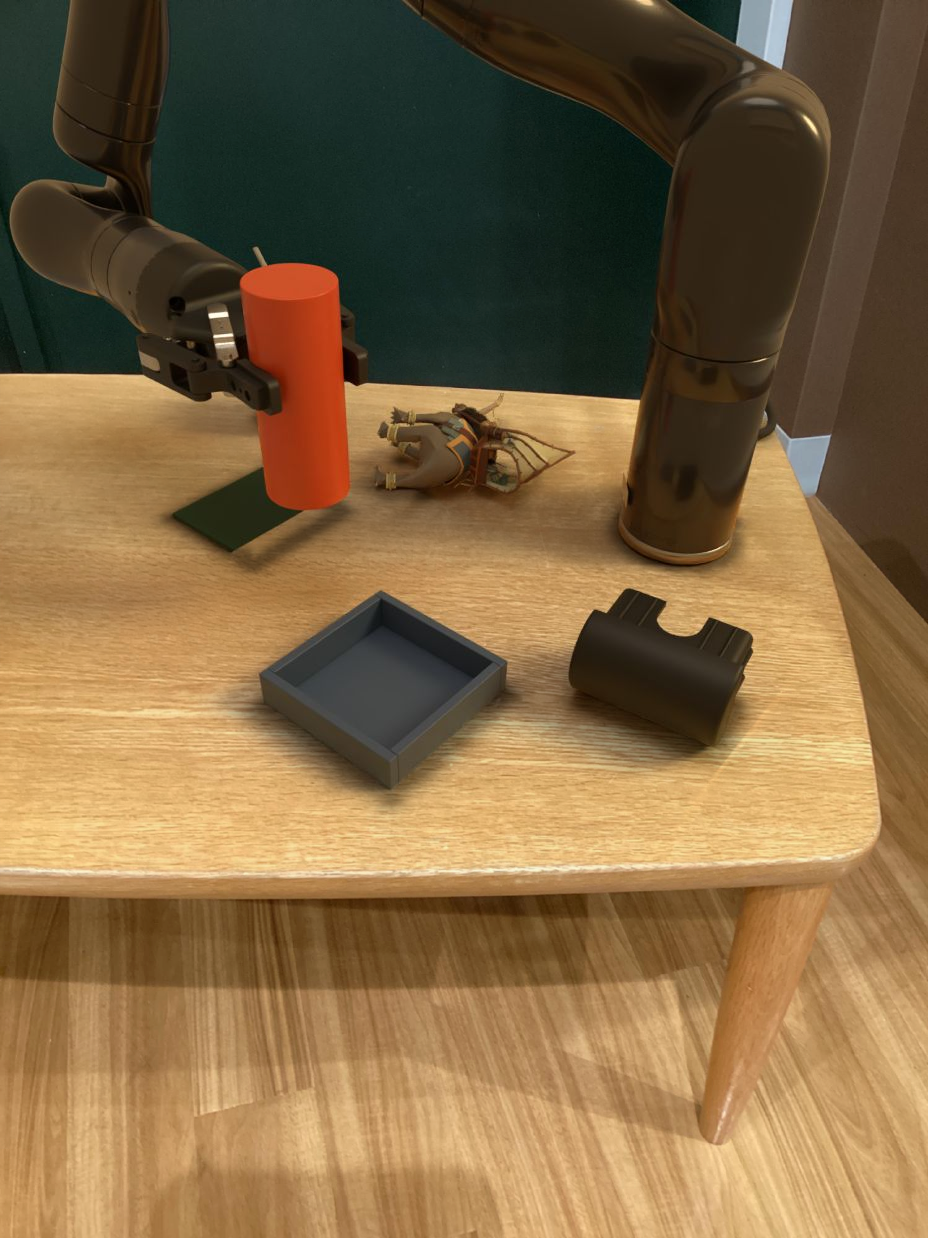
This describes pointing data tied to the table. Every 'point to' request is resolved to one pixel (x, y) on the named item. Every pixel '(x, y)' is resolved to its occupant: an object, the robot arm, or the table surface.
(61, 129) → the robot arm
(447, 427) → the figurine
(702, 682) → the end cap
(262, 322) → the tube
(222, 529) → the mat
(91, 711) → the table surface
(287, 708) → the dark grey square tray
